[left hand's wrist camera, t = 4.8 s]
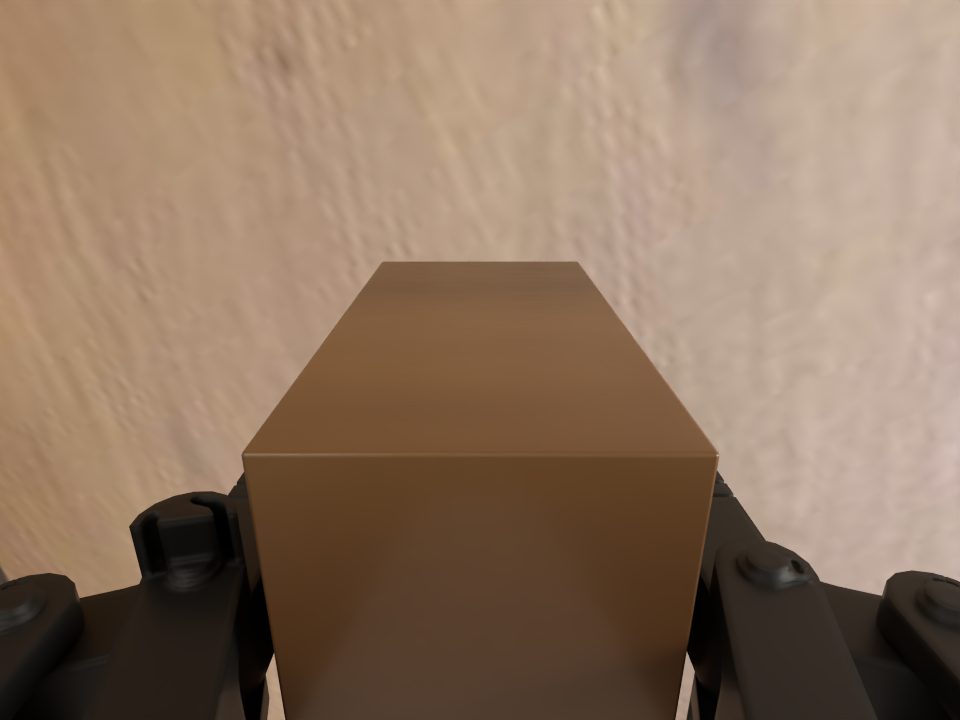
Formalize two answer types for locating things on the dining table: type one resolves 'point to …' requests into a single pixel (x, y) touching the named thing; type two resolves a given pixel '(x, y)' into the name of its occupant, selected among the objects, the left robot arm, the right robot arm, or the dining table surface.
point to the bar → (480, 506)
